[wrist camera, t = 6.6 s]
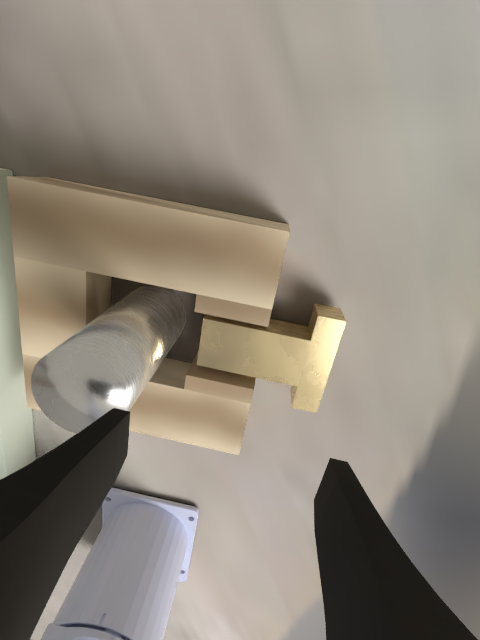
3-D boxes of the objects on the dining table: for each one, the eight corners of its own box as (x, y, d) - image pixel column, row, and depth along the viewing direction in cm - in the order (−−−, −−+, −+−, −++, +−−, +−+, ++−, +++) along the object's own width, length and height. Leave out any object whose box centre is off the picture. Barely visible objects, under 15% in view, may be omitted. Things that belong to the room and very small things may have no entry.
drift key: (313, 393, 22) (316, 412, 20) (200, 369, 22) (193, 386, 21) (340, 308, 20) (346, 321, 18) (213, 282, 20) (207, 293, 18)
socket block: (243, 423, 24) (238, 455, 22) (55, 382, 25) (26, 407, 22) (288, 224, 19) (289, 231, 16) (45, 176, 19) (6, 176, 17)
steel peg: (183, 347, 23) (125, 444, 14) (124, 335, 23) (33, 423, 14) (190, 291, 21) (129, 362, 13) (127, 277, 21) (27, 340, 13)
